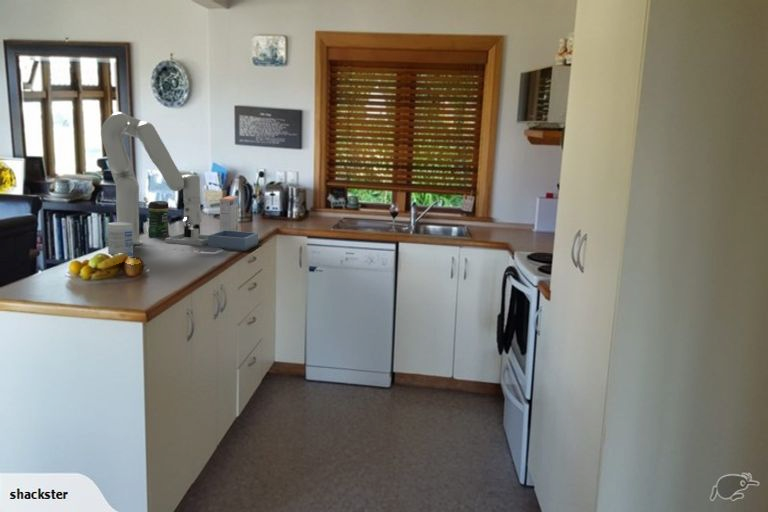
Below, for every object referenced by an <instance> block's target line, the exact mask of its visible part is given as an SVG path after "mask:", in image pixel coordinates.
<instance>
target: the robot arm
mask: <svg viewBox="0 0 768 512" xmlns="http://www.w3.org/2000/svg"><path fill="white" fill-rule="evenodd" d="M100 134H101V135H100V136H101V140H102V144H103V148H104V151H105V154H106V157H107V163H108V167H109V169H110V172H111V177H112V179H113V181H114V184H115V201H116V205H115V206H116V207H115V208H116V222H126V223H132V227H133V247H137V246H138V245H139V244H140V245H141V244H143V243H144V241H143V240H141V239H140V209H139V208H140V207H139V204H140V203H139V202H140V201H139V199H140V197H139V196H140V186H139V185H140V184H139V182H138V180H137V177H136V175H135V172H134V169H133V166H132V161H131V158H130V156H129V155H128V152H127V148H126V146H125V142H124V139H123V134H124V135H127V136H130V137H134V138H137V139H138V140H139V141H140V143H141V144H142V145H141V146H143V148H144V149H145V151H146V153H147V155H148V157H149V158H150V160H151V162H152V163H153V164H154V165H155V167H156V168H157V169H158V171H159V172H160V174H161V176H162V177H163V179H164V181H165V183H166V186H167V187H168V188H169V189H170V190H171V191H174V192H179V191H181V190H182V189H183V193H182V194H183V204H184V205H183V219H182V225H183V233H184V237H189V238H190V237H191V229H190V228H196V229H199V234H200V235H201V230H200V229H201V223H202V211H201V196H200V195H201V190H200V189H201V186H200V185H201V184H200V183H201V182H200V181H201V180H200V176H199V175H198V174H192V173H191V174H181V172H180V171H179V169H178V167H177V165H176V164H175V162H174V160H173V158H172V156H171V154H170V152H169V151H168V149H167V147H166V145H165V143H164V141H163V140H162V139H161V137H160V134H159V133H158V131H157V130H156V128H155V126H154V125H153V124H152V123H151V122H148V121H145V120H141V119H139V118H136V117H133V116H130V115H128V114H127V113H125V112H122V111H117V112H115V111H114V112H113V113H112V114H111V115H109V117H107V118H106V120H105V121H104V122H103V124H102V128H101V133H100ZM192 226H193V227H192Z"/></svg>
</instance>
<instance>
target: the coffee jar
mask: <svg viewBox="0 0 768 512" xmlns="http://www.w3.org/2000/svg"><path fill="white" fill-rule="evenodd" d="M169 209H170V208H169V202H168V201H167V200H155V201H154V200H153V201H150V202H149V203H148V212H149V217H148V218H149V221H148V234H147V235H148V238H150V239H154V238H155V239H159V238H165V237H166V238H167V237H170V232H169V219H168V217H169V216H168V215H169V211H170V210H169Z"/></svg>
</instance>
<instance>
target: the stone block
mask: <svg viewBox="0 0 768 512" xmlns="http://www.w3.org/2000/svg"><path fill="white" fill-rule="evenodd" d="M190 229H191V237H190V238H189V237H184V240H194V241H199V229H196V228H193V227H190Z"/></svg>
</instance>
